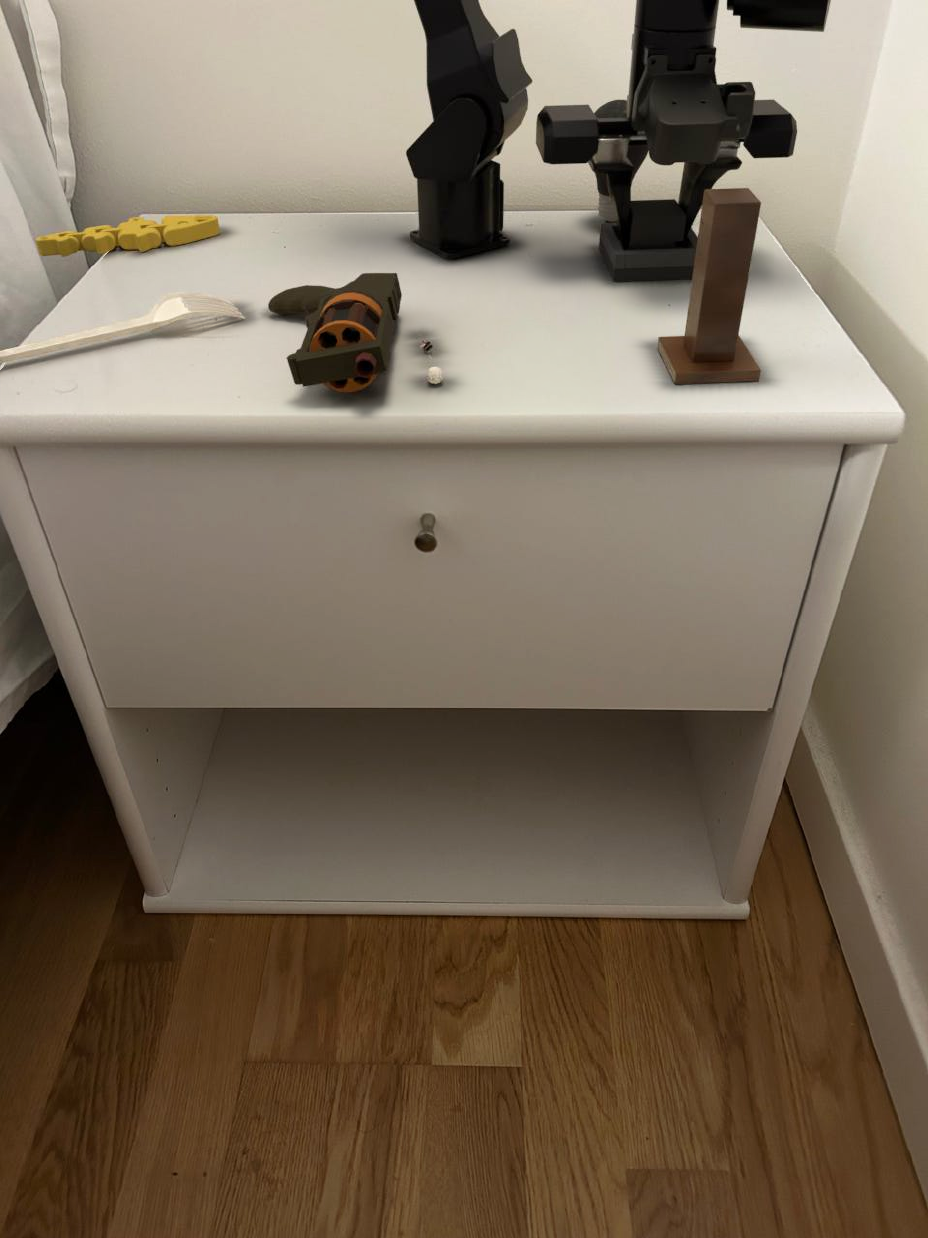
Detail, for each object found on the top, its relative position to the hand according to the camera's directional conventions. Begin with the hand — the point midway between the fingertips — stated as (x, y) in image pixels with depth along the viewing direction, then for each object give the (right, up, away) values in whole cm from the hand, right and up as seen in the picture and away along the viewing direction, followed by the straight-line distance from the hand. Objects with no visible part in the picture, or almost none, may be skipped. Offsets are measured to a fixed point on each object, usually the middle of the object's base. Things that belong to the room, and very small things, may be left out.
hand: (651, 245), depth 81 cm
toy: (-45, +5, +7) cm, 45 cm away
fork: (-41, -9, -11) cm, 43 cm away
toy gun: (-30, -11, -12) cm, 34 cm away
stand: (+1, -13, -13) cm, 18 cm away
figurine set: (-17, -12, -13) cm, 24 cm away
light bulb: (-2, +5, +9) cm, 10 cm away
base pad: (0, -1, +1) cm, 1 cm away
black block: (0, +1, -1) cm, 1 cm away
